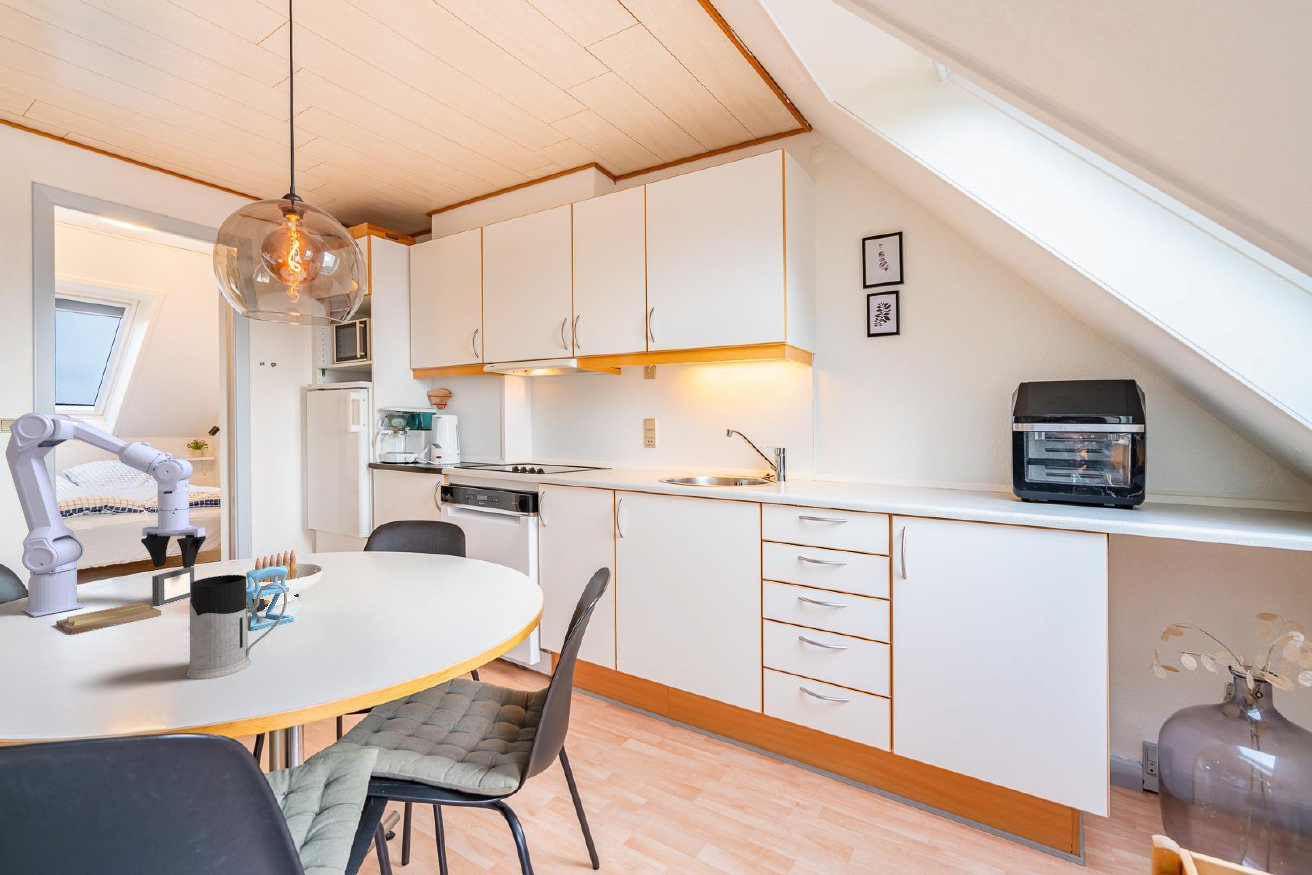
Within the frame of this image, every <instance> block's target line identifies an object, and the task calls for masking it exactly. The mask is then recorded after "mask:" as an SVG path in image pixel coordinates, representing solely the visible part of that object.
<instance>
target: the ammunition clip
mask: <svg viewBox="0 0 1312 875" xmlns="http://www.w3.org/2000/svg"><path fill="white" fill-rule="evenodd" d="M269 558H270V559H269V560H268V557H267V555H264V557H263V560H262V563H261V558H260V557H257V558H256V561H255V565H254V566H255V567H254V569H256V570H261V569H264V568H267V567H277V566H278V565H282V566H285V567H286V568H287V569H288V573H287V576H286V579H285V580H289V579H294V578H298V574H297V573H298V572H297V571H298V569H297V568H298V567H297V563H296V562H297V561H296V560H297V559H296V552H295V551H294V549H291V551H290V555H289V552H287V551H285V552H284V554H283V557H282V554H281V552H278V553H277V556H276V559H275V556H274V554H271V555H270V557H269ZM281 579H282V576H278V581H281ZM258 582H259V583H260V582H273V577H268V578H264V579H261V580H259V581H258ZM254 583H255V582H254V581H253V584H254ZM294 596H295V597H299V598H300V593H299V594H296V595H294ZM252 600H253V603H254V606H256V599H253V598H252ZM269 603H270V601H269V600H264V599H260V600H259V605H258V607H257V608H256V612H257V613H260V612H264V611H265V610H264V609H265V607H267V606H268V604H269ZM263 610H264V611H263Z"/></svg>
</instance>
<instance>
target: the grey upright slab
mask: <svg viewBox="0 0 1312 875" xmlns="http://www.w3.org/2000/svg"><path fill="white" fill-rule="evenodd" d="M151 577H152V578H151V579H152V580H151V581H152V582H151V584H152V585H151V587H152V588H151V589H152V591H151V593H152V597H151V598H152V599H151V600H152V604H151V605H152V606H151V607H153V606H160V605H163V604H166V603H169V604H171V602H172V603H175V602H174V601H176V602H178V601H177V600H179V601H181V600H180V599H182V600H184V599H188V598H190V596H191V583H192V582H194V581H195V567H194V566H192V567H188V568H183V567H182V568H180V569H175V570H172V571H167V572H163V573H160V574H159V573H158V574H155V575H152V576H151ZM166 605H167V604H166ZM163 606H164V605H163ZM160 607H161V606H160Z"/></svg>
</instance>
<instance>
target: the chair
mask: <svg viewBox="0 0 1312 875" xmlns="http://www.w3.org/2000/svg"><path fill="white" fill-rule="evenodd" d="M287 573H288V569H287V568H286V567H285V566H283V564H282V565H278V566H277V567H267V568H264V569H261V570H256V569H255V568H253V569H251V570H247V571H246V575H245V576H246V581H247V583H248V584H247V586H246V603H247V604H248V605H247V606H248V608H253V607H255V606H254V603H253V600H252V598H257V594H258V592H259V590H260V589H261V588H262V587H263V586H261V587H260V585H259V582H258V581H259V580H261V579H264V578H268V577H273V583H276V584H280V585H282V586H283V587H284V588H285V590H286V592H289V587H286V585H285V579H286V576H287ZM278 576H282V579H281V583H278ZM254 582H255V587H254ZM281 593H284V592H283V590H282V589H281V588H280V587H278V586H267V587H266V588H264V589H263V590H262V592H261V594H260V597H263V596H266V595H271V594H275V595H274V597H273V599H272V602H271V604H270V605H269V607H268V609H267V610H265V618H268V619H274V620H270V621H267V622H261V623H258V617H259V615H258V612H256V609H254V610H251V611H250V615H251V621H250V625H249V629H251V630H250V631H252V630H253V631H256V630H255V629H258V630H261V629H266V628H265V627H267V628H270V627H269V626H271V627H272V626H273V625H274V624H275V623H276V621H277V620H278V618H279V616H280V614H281V613H275V612H273V610H274V608H275V607H274V606H275V604H276V602H277V600H278V598H279V596H280V594H281ZM293 620H294V621H295V617H294V616H293V615H288V614H283V616H282V618H281V620H280V621H279V623H278V624H280V625H284V624H287V622H289V623H292V622H291V621H293ZM294 621H293V622H294ZM283 623H284V624H283Z"/></svg>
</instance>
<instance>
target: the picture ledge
mask: <svg viewBox="0 0 1312 875" xmlns="http://www.w3.org/2000/svg"><path fill="white" fill-rule="evenodd" d="M159 615H161V616H162V610H161V609H159V608H156V607H153V606H151V605H150V604H145V603H144V602H142V601H141V602H137V603H130V604H126V605H121V606H116V607H112V608H105V609H100V610H97V611H96V610H95V611H90V612H85V613H81V614H80V613H79V614H75V615H70V616H67V617H66V618H63V619H59V620H56V621H55V622H56V623H55V624H56V625H57V626H56V627H58V628H60V629H61V628H62V630H63V629H64V630H63V631H65V630H66V631H65V632H67V633H68V632H69V633H68V634H70V633H72V634H73V635H75V634H74V633H77V634H82V633H85V632H84V631H87V632H89V631H88V630H91V631H93V630H92V629H96V630H100V629H99V628H101V629H104V628H103V627H105V628H108V627H107V626H110V627H112V626H111V625H114V624H119V625H123V624H122V623H124V624H127V623H126V622H128V623H131V622H130V621H133V622H135V621H134V620H137V621H142V620H146V619H145V618H147V619H150V618H149V617H151V618H154V617H153V616H156V617H160V616H159ZM141 619H142V620H141ZM114 626H115V625H114ZM81 632H82V633H81ZM72 634H71V635H72Z"/></svg>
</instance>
